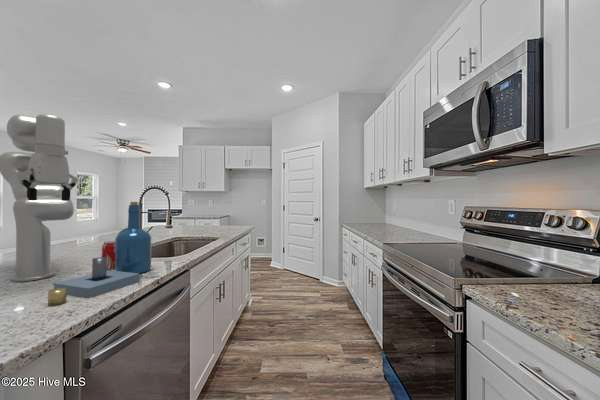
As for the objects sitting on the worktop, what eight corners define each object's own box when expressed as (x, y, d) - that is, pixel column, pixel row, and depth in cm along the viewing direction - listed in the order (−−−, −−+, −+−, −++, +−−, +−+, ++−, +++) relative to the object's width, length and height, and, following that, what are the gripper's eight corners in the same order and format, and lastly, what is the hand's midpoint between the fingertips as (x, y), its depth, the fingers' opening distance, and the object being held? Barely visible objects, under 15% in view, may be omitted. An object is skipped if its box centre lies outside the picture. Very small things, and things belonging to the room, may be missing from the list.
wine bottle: (158, 269, 118) (158, 201, 118) (129, 277, 105) (130, 201, 106) (136, 266, 123) (136, 201, 123) (106, 274, 110) (107, 201, 110)
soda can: (110, 271, 115) (111, 243, 115) (97, 270, 116) (97, 242, 116) (124, 267, 122) (124, 240, 122) (111, 266, 123) (112, 240, 123)
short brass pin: (44, 305, 77) (44, 291, 77) (60, 300, 81) (60, 287, 81) (53, 307, 76) (53, 293, 76) (69, 302, 79) (69, 288, 80)
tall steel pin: (89, 288, 92) (89, 259, 92) (101, 284, 96) (101, 256, 96) (97, 289, 91) (97, 259, 91) (109, 285, 95) (109, 257, 95)
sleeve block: (54, 292, 88) (54, 283, 88) (108, 277, 105) (108, 270, 105) (88, 298, 83) (88, 288, 83) (139, 281, 100) (139, 273, 100)
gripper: (70, 156, 103) (70, 200, 102) (10, 147, 86) (9, 200, 86) (84, 155, 100) (84, 200, 100) (25, 145, 84) (24, 200, 84)
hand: (49, 200), depth 93 cm, fingers open, 9 cm apart
